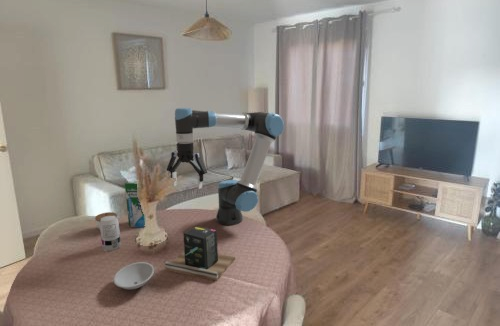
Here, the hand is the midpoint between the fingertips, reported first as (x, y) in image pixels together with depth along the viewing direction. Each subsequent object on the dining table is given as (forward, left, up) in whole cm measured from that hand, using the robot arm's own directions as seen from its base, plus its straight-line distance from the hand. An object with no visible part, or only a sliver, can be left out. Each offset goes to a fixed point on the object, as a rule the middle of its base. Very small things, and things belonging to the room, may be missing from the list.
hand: (187, 186), depth 156 cm
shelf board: (+16, +15, -29) cm, 36 cm away
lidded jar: (+1, -51, -29) cm, 59 cm away
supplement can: (+17, -33, -29) cm, 47 cm away
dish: (+39, -1, -29) cm, 48 cm away
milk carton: (-11, -39, -29) cm, 50 cm away
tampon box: (+17, +16, -28) cm, 36 cm away
